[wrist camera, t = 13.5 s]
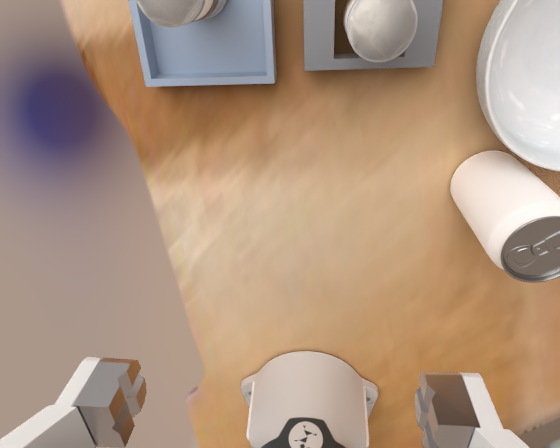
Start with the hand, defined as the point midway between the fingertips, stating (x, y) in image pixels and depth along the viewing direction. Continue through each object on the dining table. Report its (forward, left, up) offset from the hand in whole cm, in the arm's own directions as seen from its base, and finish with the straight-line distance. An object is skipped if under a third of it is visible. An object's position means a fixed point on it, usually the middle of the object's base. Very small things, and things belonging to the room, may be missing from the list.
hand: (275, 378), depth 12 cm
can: (-7, -17, -29) cm, 35 cm away
